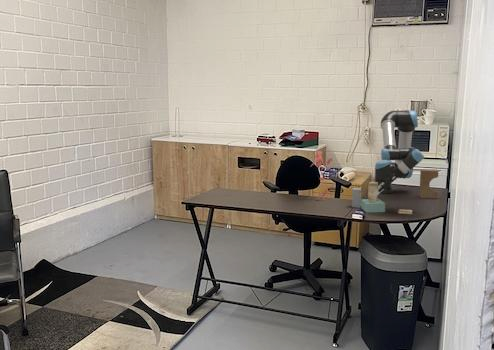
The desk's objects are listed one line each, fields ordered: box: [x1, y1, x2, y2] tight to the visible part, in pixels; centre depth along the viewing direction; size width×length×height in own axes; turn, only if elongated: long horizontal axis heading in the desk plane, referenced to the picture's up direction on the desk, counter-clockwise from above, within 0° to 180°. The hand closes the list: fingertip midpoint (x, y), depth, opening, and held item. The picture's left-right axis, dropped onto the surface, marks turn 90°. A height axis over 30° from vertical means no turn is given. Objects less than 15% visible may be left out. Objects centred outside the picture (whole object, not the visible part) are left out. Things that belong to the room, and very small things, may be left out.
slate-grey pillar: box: [351, 187, 362, 209], centre depth 305 cm, size 5×5×12 cm
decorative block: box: [418, 168, 440, 200], centre depth 324 cm, size 11×6×20 cm, turn 78°
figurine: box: [306, 149, 333, 201], centre depth 329 cm, size 15×26×35 cm, turn 146°
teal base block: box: [360, 198, 386, 214], centre depth 296 cm, size 12×12×6 cm
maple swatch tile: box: [397, 208, 413, 215], centre depth 289 cm, size 8×8×1 cm
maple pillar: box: [367, 181, 379, 202], centre depth 295 cm, size 5×5×12 cm
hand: (375, 192), depth 294 cm, fingers open, 13 cm apart
